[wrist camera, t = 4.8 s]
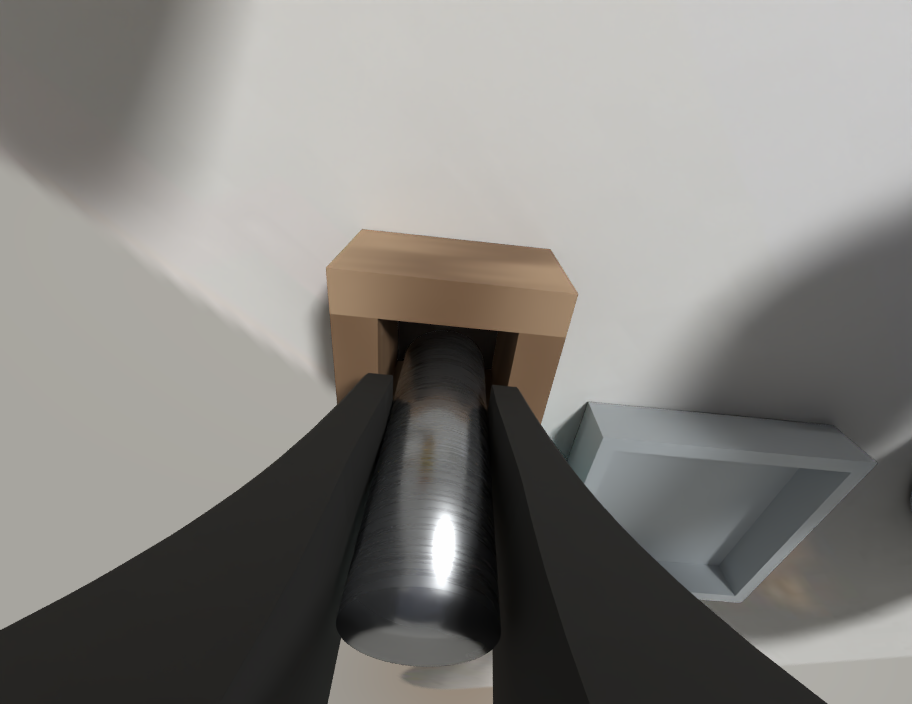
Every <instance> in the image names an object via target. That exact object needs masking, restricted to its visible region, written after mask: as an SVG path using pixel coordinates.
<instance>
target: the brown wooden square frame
mask: <svg viewBox="0 0 912 704" xmlns="http://www.w3.org/2000/svg"><path fill="white" fill-rule="evenodd" d="M326 276H327V288H328V300H329V312H330V324H331V336H332V348H333V360H334V372H335V384H336V396H337V404H338V403H339V402H340V401H341V400H342V399H343V398H344V397H345V396H346V395H347V394H348V393H349V392H350V391H351V390H352V389H353V387H354V386H355V385H356V384H357V383H358V382H359V381H360V380H361V379H362V377H363V376H365V375H366V374H367V373H375V374H385V375H393V400H394V396H395V392H396V388H397V385H398V381H399V377H400V373H401V369H402V365H403V362H404V361H399V360H397V358H398V321H406V322H416V323H426V324H436V325H446V326H456V327H466V328H476V329H486V330H496V331H498V334H497V340H496V345H495V351H494V356H493V362H492V367H491V369H484V374H485V389H486V405H487V409H488V404H489V398H490V393H491V387H492V385H500V386H511V387H517V388H518V389H519V391H520V392H521V394H522V395H523V397H524V399H525V400H526V402H527V404H528V405H529V407H530V408H531V410H532V412H533V413H534V415H535V416H536V418H537V419H538V421H539V423H540V424H541V422H542V418H543V415H544V411H545V408H546V404H547V401H548V397H549V394H550V391H551V387H552V384H553V380H554V377H555V373H556V370H557V366H558V363H559V359H560V356H561V352H562V349H563V345H564V342H565V338H566V335H567V331H568V328H569V325H570V321H571V318H572V314H573V311H574V307H575V304H576V300H577V297H578V293H577V291H576V290H575V288H574V286H573V285H572V283H571V282H570V280H569V278H568V277H567V275H566V273H565V272H564V270H563V269H562V267H561V265H560V264H559V262H558V261H557V259H556V257H555V256H554V254H553V253H552V251H551V249H542V248H533V247H523V246H514V245H505V244H495V243H486V242H477V241H467V240H458V239H449V238H439V237H430V236H421V235H411V234H402V233H392V232H383V231H374V230H364V229H362V230H361V231H360V232H359V233H358V234H357V235H356V236H355V237H354V238H353V239H352V241H351V242H350V243H349V244H348V245H347V246H346V247H345V248H344V249H343V250H342V251H341V252H340V253H339V254H338V255H337V256H336V258H335V259H334V260H333V261H332V262H331V263H330V264H329V265H328V266H327V267H326Z"/></svg>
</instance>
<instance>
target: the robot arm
mask: <svg viewBox="0 0 912 704" xmlns="http://www.w3.org/2000/svg"><path fill="white" fill-rule="evenodd" d="M392 404H393V375H385V374H375V373H367V374H366V375H365V376H363V377H362V379H361V380H360V381H359V382H358V383H357V384H356V385H355V386H354V387H353V389H352V390H351V391H350V392H349V393H348V394H347V395H346V396H345V397H344V398H343V399H342V400H341V401H340V402H339V403H338V404H337V405H336V406H335V407H334V409H332V411H330V412H329V413H328V414H327V415H326V416H325V417H324V418H323V419H322V420H321V421H320V422H319V423H318V424H317V425H316V426H315V427H314V428H313V429H312V430H311V431H310V432H309V433H307V434H306V435H305V436H304V437H303V438H302V439H301V440H299V441H298V442H297V443H296V444H295V445H294V446H293V447H292V448H290V449H289V450H288V451H287V452H286V453H285V454H283V455H282V456H281V457H280V458H279V459H278V460H276V461H275V462H274V463H273V464H271V465H270V466H269V467H268V468H266V469H265V470H264V471H263V472H261V473H260V474H259V475H257V476H256V477H255V478H253V479H252V480H251V481H250V482H248V483H247V484H245V485H244V486H243V487H242V488H240V489H239V490H237V491H236V492H235V493H233V494H232V495H230V496H229V497H227V498H226V499H225V500H223V501H222V502H221V503H219V504H218V505H216V506H215V507H213V508H212V509H210V510H209V511H207V512H206V513H205V514H203V515H201V516H200V517H198V518H197V519H195V520H194V521H192V522H191V523H189V524H188V525H186V526H185V527H183V528H182V529H180V530H178V531H177V532H175V533H174V534H173V535H171V536H169V537H167V538H166V539H164V540H162V541H161V542H159V543H157V544H156V545H154V546H152V547H151V548H149V549H147V550H146V551H144V552H142V553H140V554H139V555H137V556H135V557H134V558H132V559H130V560H129V561H127V562H125V563H124V564H122V565H120V566H119V567H117V568H115V569H113V570H112V571H110V572H108V573H106V574H105V575H103V576H101V577H99V578H98V579H96V580H94V581H92V582H91V583H89V584H87V585H85V586H83V587H81V588H80V589H78V590H76V591H74V592H72V593H71V594H69V595H67V596H65V597H63V598H61V599H60V600H57V601H55V602H54V603H52V604H50V605H48V606H46V607H44V608H42V609H40V610H38V611H36V612H34V613H32V614H31V615H29V616H27V617H25V618H23V619H21V620H19V621H17V622H15V623H13V624H11V625H10V626H8V627H6V628H4V629H2V630H0V704H328V698H329V694H330V689H331V684H332V679H333V674H334V669H335V664H336V660H337V655H338V650H339V645H340V640H341V636H340V635H339V633H338V631H337V628H336V618H337V614H338V611H339V607H340V603H341V599H342V595H343V591H344V588H345V584H346V580H347V576H348V572H349V568H350V565H351V561H352V557H353V553H354V549H355V545H356V542H357V538H358V534H359V530H360V526H361V522H362V519H363V515H364V511H365V507H366V503H367V499H368V496H369V492H370V488H371V484H372V480H373V476H374V473H375V469H376V465H377V461H378V457H379V453H380V450H381V446H382V442H383V438H384V435H385V431H386V427H387V423H388V419H389V416H390V412H391V408H392ZM487 420H488V436H489V451H490V467H491V482H492V498H493V513H494V529H495V544H496V559H497V575H498V590H499V606H500V621H501V637H500V640H499V642H498V644H497V645H496V646H495V647H494V648H493V704H827V703H826V702H825V701H823V700H822V699H821V698H819V697H818V696H817V695H815V694H814V693H813V692H812V691H810V690H809V689H808V688H806V687H805V686H804V685H803V684H801V683H800V682H799V681H798V680H796V679H795V678H794V677H792V676H791V675H790V674H788V673H787V672H786V671H785V670H783V669H782V668H781V667H780V666H778V665H777V664H776V663H774V662H773V661H772V660H771V659H769V658H768V657H767V656H765V655H764V654H763V653H762V652H760V651H759V650H758V649H756V648H755V647H754V646H753V645H752V644H750V643H749V642H748V641H747V640H746V639H744V638H743V637H742V636H741V635H740V634H738V633H737V632H736V631H735V630H734V629H732V628H731V627H730V626H729V625H728V624H727V623H725V622H724V621H723V620H722V619H721V618H720V617H718V616H717V615H716V614H715V613H714V612H712V611H711V610H710V609H709V608H708V607H707V606H705V605H704V604H703V603H702V602H701V601H700V600H699V599H697V598H696V597H695V596H694V595H693V594H692V593H691V592H690V591H688V590H687V589H686V588H685V587H684V586H683V585H682V584H681V583H679V582H678V581H677V580H676V579H675V578H674V577H673V576H672V575H671V574H670V573H669V572H668V571H667V570H666V569H665V568H664V567H663V566H662V565H660V564H659V563H658V562H657V561H656V560H655V559H654V558H653V557H652V556H651V555H650V554H649V553H648V552H647V551H646V550H645V549H644V548H643V547H641V546H640V545H639V544H638V542H637V541H636V540H635V539H634V538H633V537H632V536H631V535H630V534H629V533H628V532H627V531H626V530H625V529H624V528H623V527H622V526H621V525H620V524H619V523H618V522H617V521H616V520H615V519H614V517H613V516H612V515H611V514H610V513H609V512H608V511H607V510H606V509H605V508H604V507H603V505H602V504H601V503H600V502H599V501H598V500H597V499H596V497H595V496H594V495H593V494H592V493H591V491H590V490H589V489H588V488H587V487H586V485H585V484H584V483H583V482H582V480H581V479H580V478H579V477H578V475H577V474H576V473H575V472H574V470H573V469H572V468H571V466H570V465H569V464H568V462H567V461H566V460H565V458H564V457H563V456H562V454H561V453H560V452H559V450H558V449H557V447H556V446H555V444H554V443H553V442H552V440H551V439H550V437H549V436H548V435H547V433H546V432H545V430H544V429H543V427H542V426H541V424H540V423H539V421H538V419H537V418H536V416H535V415H534V413H533V412H532V410H531V408H530V407H529V405H528V404H527V402H526V400H525V399H524V397H523V395H522V394H521V392H520V391H519V389H518V388H517V387H511V386H500V385H492V387H491V393H490V398H489V404H488V409H487Z"/></svg>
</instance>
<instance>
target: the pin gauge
mask: <svg viewBox="0 0 912 704" xmlns="http://www.w3.org/2000/svg"><path fill="white" fill-rule="evenodd" d="M336 628H337V631H338V633H339V635H340V636H341V638H342V639H343V640H344V641H345V642H346V643H347V644H348V645H350V646H351V647H353V648H354V649H356V650H358V651H359V652H361V653H363V654H365V655H368V656H370V657H373V658H376V659H379V660H382V661H386V662H390V663H395V664H401V665H408V666H421V667H435V666H447V665H454V664H460V663H464V662H468V661H471V660H474V659H476V658H479V657H481V656H483V655H485V654H486V653H488V652H489V651H491V650H492V649H493V648H494V647H495V646H496V645H497V644H498V642H499V640H500V637H501V621H500V606H499V590H498V575H497V559H496V544H495V529H494V513H493V498H492V482H491V467H490V451H489V436H488V420H487V405H486V389H485V374H484V360H483V356H482V353H481V351H480V349H479V348H478V346H477V345H476V344H475V343H474V342H473V341H472V340H471V339H469V338H468V337H466V336H464V335H462V334H460V333H457V332H454V331H448V330H437V331H432V332H428V333H426V334H423V335H421V336H420V337H418V338H417V339H416V340H414V341H413V342H412V343H411V345H410V346H409V348H408V349H407V351H406V354H405V358H404V362H403V365H402V369H401V373H400V377H399V381H398V385H397V388H396V392H395V396H394V400H393V404H392V408H391V412H390V416H389V419H388V423H387V427H386V431H385V435H384V438H383V442H382V446H381V450H380V453H379V457H378V461H377V465H376V469H375V473H374V476H373V480H372V484H371V488H370V492H369V496H368V499H367V503H366V507H365V511H364V515H363V519H362V522H361V526H360V530H359V534H358V538H357V542H356V545H355V549H354V553H353V557H352V561H351V565H350V568H349V572H348V576H347V580H346V584H345V588H344V591H343V595H342V599H341V603H340V607H339V611H338V614H337V618H336Z"/></svg>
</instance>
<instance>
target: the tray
mask: <svg viewBox="0 0 912 704" xmlns="http://www.w3.org/2000/svg"><path fill="white" fill-rule="evenodd" d="M567 462H568V464H569V465H570V466H571V468H572V469H573V470H574V472H575V473H576V474H577V475H578V477H579V478H580V479H581V480H582V482H583V483H584V484H585V485H586V487H587V488H588V489H589V490H590V491H591V493H592V494H593V495H594V496H595V497H596V499H597V500H598V501H599V502H600V503H601V504H602V505H603V507H604V508H605V509H606V510H607V511H608V512H609V513H610V514H611V515H612V516H613V517H614V519H615V520H616V521H617V522H618V523H619V524H620V525H621V526H622V527H623V528H624V529H625V530H626V531H627V532H628V533H629V534H630V535H631V536H632V537H633V538H634V539H635V540H636V541H637V542H638V544H639V545H640V546H641V547H643V548H644V549H645V550H646V551H647V552H648V553H649V554H650V555H651V556H652V557H653V558H654V559H655V560H656V561H657V562H658V563H659V564H660V565H662V566H663V567H664V568H665V569H666V570H667V571H668V572H669V573H670V574H671V575H672V576H673V577H674V578H675V579H676V580H677V581H678V582H679V583H681V584H682V585H683V586H684V587H685V588H686V589H687V590H688V591H690V592H691V593H692V594H693V595H694V596H695V597H696V598H697V599H699V600H710V601H723V602H735V603H742V602H743V601H744V600H745V599H746V598H747V596H748V595H749V594H750V593H751V592H752V591H753V590H754V589H755V588H756V587H757V586H758V585H759V584H760V583H761V582H762V581H763V580H764V579H765V578H766V577H767V576H768V575H769V574H770V573H771V572H772V571H773V570H774V569H775V568H776V567H777V566H778V565H779V564H780V563H781V562H782V561H783V560H784V559H785V558H786V557H787V556H788V555H789V554H790V553H791V551H792V550H793V549H794V548H795V547H796V546H797V545H798V544H799V543H800V542H801V541H802V540H803V539H804V538H805V537H806V536H807V535H808V534H809V533H810V532H811V531H812V530H813V529H814V528H815V527H816V526H817V525H818V524H819V523H820V522H821V521H822V520H823V519H824V518H825V517H826V516H827V515H828V514H829V513H830V512H831V511H832V510H833V509H834V508H835V506H836V505H837V504H838V503H839V502H840V501H841V500H842V499H843V498H844V497H845V496H846V495H847V494H848V493H849V492H850V491H851V490H852V489H853V488H854V487H855V486H856V485H857V484H858V483H859V482H860V481H861V480H862V479H863V478H864V477H865V476H866V475H867V474H868V473H869V472H870V471H871V470H872V469H873V468H874V467H875V466H876V465H877V464H878V463H877V462H876V461H875V460H874V459H873V458H871V457H870V456H869V455H868V454H867V453H866V452H864V451H863V450H862V449H861V448H860V447H858V446H857V445H856V444H855V443H854V442H853V441H851V440H850V439H849V438H848V437H847V436H845V435H844V434H843V433H842V432H841V431H840V430H838V429H837V428H836V427H835V426H834V425H825V424H814V423H804V422H793V421H783V420H772V419H762V418H751V417H741V416H731V415H720V414H710V413H699V412H689V411H678V410H668V409H657V408H647V407H636V406H626V405H616V404H605V403H595V402H588V404H587V407H586V410H585V412H584V415H583V418H582V421H581V424H580V426H579V429H578V432H577V435H576V437H575V440H574V443H573V446H572V449H571V451H570V454H569V457H568V460H567Z"/></svg>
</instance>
